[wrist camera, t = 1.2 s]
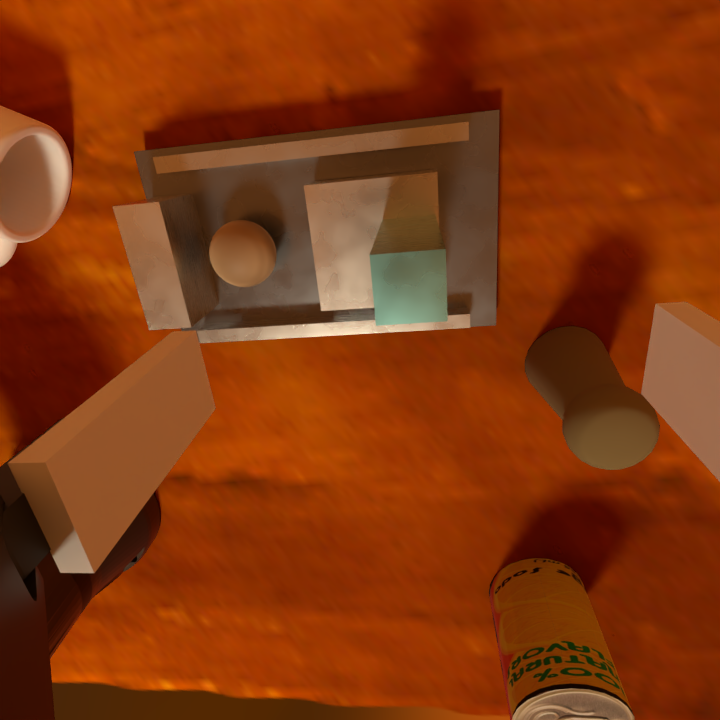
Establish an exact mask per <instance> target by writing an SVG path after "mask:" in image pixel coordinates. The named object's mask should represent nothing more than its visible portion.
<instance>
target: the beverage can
mask: <svg viewBox="0 0 720 720" xmlns="http://www.w3.org/2000/svg"><path fill="white" fill-rule="evenodd" d="M489 596H490V602H491V607H492V613H493V619H494V625H495V631H496V637H497V643H498V649H499V655H500V661H501V667H502V673H503V679H504V684H505V690H506V696H507V702H508V708H509V714H510V720H634V715H633V713H632V710H631V707H630V705H629V702H628V700H627V697H626V694H625V692H624V689H623V687H622V684H621V681H620V679H619V676H618V674H617V671H616V668H615V666H614V663H613V661H612V658H611V655H610V653H609V650H608V648H607V645H606V642H605V640H604V637H603V635H602V632H601V629H600V627H599V624H598V622H597V619H596V616H595V614H594V611H593V609H592V606H591V603H590V601H589V598H588V595H587V593H586V590H585V588H584V585H583V582H582V580H581V579H580V577H579V576H578V574H577V573H576V572H575V571H574V570H573V569H571V568H570V567H569V566H567V565H565V564H563V563H561V562H559V561H554V560H550V559H542V558H532V559H525V560H520V561H517V562H515V563H512V564H509V565H508V566H506V567H505V568H503V569H501V570H500V571H499V572H498V573H497V574H496V575H495V576H494V578H493V580H492V582H491V584H490V590H489Z"/></svg>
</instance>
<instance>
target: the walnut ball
mask: <svg viewBox="0 0 720 720" xmlns="http://www.w3.org/2000/svg"><path fill="white" fill-rule="evenodd" d="M209 256H210V261H211V264H212V266H213V268H214V270H215V272H216V273H217V274H218V275H219V276H220V277H221V278H222V279H223V280H224V281H226V282H227V283H229V284H232V285H234V286H238V287H251V286H255V285H257V284H260V283H261V282H263V281H264V280H265V279H267V278H268V277H269V275H270V274H271V273H272V271H273V269H274V267H275V263H276V257H277V253H276V247H275V244H274V241H273V239H272V238H271V236H270V235H269V233H268V232H267V231H266V230H265V229H264V228H263V227H261V226H260V225H258V224H256V223H254V222H251V221H246V220H236V221H232V222H229V223H227V224H225V225H223V226H222V227H220V228H219V229H218V230H217V232H216V233H215V234H214V236H213V238H212V240H211V243H210V248H209Z"/></svg>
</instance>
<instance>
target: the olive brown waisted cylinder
mask: <svg viewBox="0 0 720 720" xmlns="http://www.w3.org/2000/svg"><path fill="white" fill-rule="evenodd" d="M525 372H526V375H527V377H528V380H529V382H530V383H531V384H532V385H533V386H534V388H535V389H536V390H537V391H538V392H539V393H540V394H541V396H542V397H543V398H544V399H545V400H546V401H547V403H548V404H549V405H550V406H551V407H552V408H553V410H554V411H555V412H556V413H557V414H558V415H559V417H560V418H561V419H562V420H563V435H564V437H565V440H566V442H567V445H568V447H569V449H570V450H571V451H572V452H573V453H574V454H575V455H576V456H577V457H578V458H579V459H580V460H581V461H583V462H585V463H587V464H589V465H591V466H593V467H597V468H602V469H607V470H615V469H623V468H627V467H630V466H633V465H635V464H637V463H638V462H640V461H642V460H644V459H645V458H646V457H647V456H648V455H649V454H650V453H651V452H652V450H653V448H654V446H655V444H656V443H657V440H658V436H659V428H660V425H659V421H658V418H657V415H656V412H655V409H654V408H653V407H652V406H651V404H650V403H649V402H648V401H647V400H646V399H645V398H644V397H643V395H641V394H639V393H637V392H636V391H634V390H632V389H630V388H628V387H626V386H625V385H624V383H623V381H622V379H621V377H620V375H619V373H618V371H617V369H616V367H615V365H614V363H613V361H612V360H611V358H610V356H609V354H608V352H607V350H606V348H605V346H604V344H603V342H602V341H601V340H600V339H599V338H598V337H597V335H596V334H594V333H593V332H591V331H589V330H587V329H585V328H581V327H576V326H566V327H558V328H556V329H553V330H551V331H548V332H546V333H545V334H543V335H542V336H541V337H539V338H538V339H537V340H536V341H535V342H534V343H533V345H532V346H531V347H530V349H529V350H528V353H527V356H526V359H525Z"/></svg>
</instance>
